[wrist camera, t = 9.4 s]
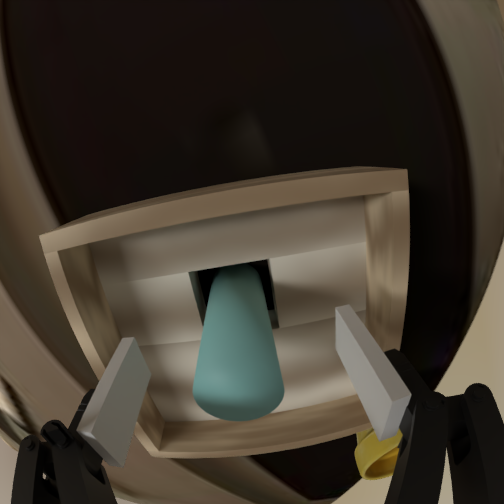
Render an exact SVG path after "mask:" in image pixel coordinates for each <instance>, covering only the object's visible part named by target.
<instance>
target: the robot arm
mask: <svg viewBox="0 0 504 504" xmlns="http://www.w3.org/2000/svg"><path fill="white" fill-rule="evenodd" d="M335 314H336V342H335V349H336V351H337V353H338V355H339V357H340V359H341V361H342V363H343V365H344V367H345V369H346V371H347V373H348V375H349V378H350V380H351V382H352V384H353V386H354V388H355V390H356V392H357V394H358V396H359V399H360V401H361V403H362V405H363V407H364V409H365V411H366V414H367V416H368V418H369V420H370V422H371V425H372V427H373V429H374V431H375V433H376V436H377V438H378V440H379V442H380V441H383V440H385V439H388V438H391V437H393V436H396V434H397V432H398V429H400V431H401V433H402V435H403V436H402V438H401V440H400V442H399V444H398V447H397V448H399V452H398V456H397V460H396V465H395V469H394V472H393V476H392V480H391V483H390V487H389V490H388V494H387V497H386V500H385V503H384V504H438V501H439V496H440V490H441V484H442V479H443V472H444V465H445V456H446V447H447V453H448V459H449V465H450V473H451V480H452V491H453V503H454V504H504V423H503V420H502V418H501V415H500V412H499V409H498V407H497V404H496V402H495V399H494V397H493V394H492V392H491V390H490V389H489V387H487V386H486V385H484V384H481V383H474V384H472V385H470V386H469V387H468V388H467V389H466V391H465V393H464V394H460V395H455V396H449V397H445V396H444V395H443V394H441V393H439V392H434V391H431V390H430V389H429V387H428V386H427V384H426V383H425V382H424V380H423V379H422V378H421V376H420V375H419V373H418V372H417V371H416V369H414V367H413V365H412V364H411V363H410V362H409V360H408V359H407V357H406V356H405V355H404V354H403V353H402V352H400V351H398V350H397V349H395V348H394V349H391V350H388V351H385V352H383V351H382V350H381V348H380V347H379V345H378V344H377V342H376V341H375V340H374V338H373V337H372V335H371V334H370V332H369V331H368V330H367V328H366V327H365V325H364V324H363V323H362V321H361V320H360V318H359V317H358V316H357V314H356V313H355V312H354V310H353V309H352V307H351V306H350V305H349V304H348V305H344V306H339V307H335ZM150 377H151V372H150V370H149V368H148V366H147V364H146V362H145V360H144V358H143V355H142V353H141V351H140V349H139V346H138V344H137V342H136V340H135V337H129V338H122V340H121V342H120V343H119V345H118V347H117V349H116V351H115V353H114V355H113V356H112V358H111V360H110V362H109V364H108V366H107V368H106V370H105V372H104V374H103V376H102V377H101V379H100V381H99V383H98V385H97V387H96V389H91V390H90V391H89V392H88V393H87V394H86V395H85V396H84V398H83V399H82V401H81V405H79V407H78V411H76V414H75V416H74V418H73V420H72V422H71V424H70V426H69V428H68V429H67V428H66V427H65V426H64V424H63V423H62V422H61V421H59V420H51V421H49V422H47V423H46V424H45V425H44V426H43V427H42V429H41V433H40V434H41V435H42V436H43V437H44V439H45V440H46V441H47V442H41V441H40V440H39V439H38V438H37V437H36V436H34V435H29V436H27V437H25V438H24V439H23V440H22V442H21V444H20V448H19V452H18V457H17V463H16V468H15V475H14V481H13V489H12V498H11V504H117V501H116V499H115V496H114V493H113V491H112V488H111V485H110V482H109V480H108V477H107V474H106V471H105V469H104V467H103V466H102V465H101V463H102V460H103V459H104V460H105V461H106V462H107V463H108V464H109V465H111V466H117V467H123V468H124V464H125V460H126V457H127V453H128V449H129V446H130V442H131V439H132V435H133V432H134V428H135V425H136V422H137V418H138V415H139V412H140V408H141V405H142V402H143V399H144V396H145V392H146V389H147V386H148V383H149V380H150ZM43 473H44V474H45V475H46V479H43V478H42V477H43Z"/></svg>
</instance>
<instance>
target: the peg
mask: <svg viewBox="0 0 504 504" xmlns="http://www.w3.org/2000/svg"><path fill="white" fill-rule="evenodd" d="M284 392H285V390H284V384H283V379H282V374H281V370H280V365H279V360H278V356H277V351H276V346H275V342H274V337H273V332H272V328H271V323H270V318H269V314H268V309H267V304H266V300H265V295H264V291H263V286H262V281H261V277H260V275H259V273H258V272H257V270H256V269H255V268H253V267H252V266H251V265H249V264H247V263H240V264H234V265H228V266H222V267H220V268H219V269H218V270H217V271H216V273H215V274H214V277H213V280H212V285H211V290H210V295H209V300H208V305H207V310H206V315H205V321H204V326H203V331H202V337H201V342H200V348H199V354H198V359H197V365H196V371H195V377H194V383H193V397H194V399H195V401H196V403H197V404H198V406H199V407H200V408H201V409H202V410H204V411H205V412H206V413H208V414H210V415H212V416H214V417H216V418H219V419H223V420H228V421H249V420H254V419H258V418H261V417H263V416H265V415H267V414H269V413H271V412H272V411H274V410H275V409H276V408H277V407H278V406H279V404H280V403H281V401H282V400H283V397H284Z"/></svg>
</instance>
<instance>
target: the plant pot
mask: <svg viewBox="0 0 504 504" xmlns="http://www.w3.org/2000/svg"><path fill="white" fill-rule="evenodd" d="M402 436H403V435H402V433H401V431H400V429H398V432H397V434H396V436H393V437H391V438H388V439H385V440H383V441H380V442H379V440H378V438H377V436H376V433H375V431H374V429H373V428H370V429H367V430H364V431H361V432H358V433H357V442H358V446H357V447H356V449H355V459H356V462H357V466H358V469H359V472H360V474H361V476H362V477H363V478H364V479H366V480H377V479H382V478H386V477H389V476H392V475H393V472H394V469H395V465H396V460H397V456H398V452H399V448H397V447H398V444H399V442H400V440H401V438H402Z"/></svg>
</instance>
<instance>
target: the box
mask: <svg viewBox="0 0 504 504" xmlns="http://www.w3.org/2000/svg"><path fill="white" fill-rule="evenodd" d="M39 237H40V240H41V244H42V248H43V251H44V255H45V258H46V261H47V264H48V267H49V270H50V273H51V276H52V279H53V282H54V285H55V288H56V290H57V293H58V296H59V298H60V301H61V303H62V306H63V308H64V311H65V313H66V315H67V318H68V320H69V322H70V325H71V327H72V329H73V331H74V333H75V336H76V338H77V340H78V342H79V344H80V346H81V348H82V350H83V352H84V354H85V356H86V358H87V360H88V361H89V363H90V365H91V367H92V369H93V371H94V372H95V374H96V376H97V378H98V379H99V381H100V379H101V377H102V376H103V374H104V372H105V370H106V368H107V366H108V364H109V362H110V360H111V358H112V356H113V355H114V353H115V351H116V349H117V347H118V345H119V343H120V342H121V340H122V338H129V337H135V340H136V342H137V344H138V346H139V349H140V351H141V353H142V355H143V358H144V360H145V362H146V364H147V366H148V368H149V370H150V372H151V377H150V380H149V383H148V386H147V389H146V392H145V396H144V399H143V402H142V405H141V408H140V412H139V415H138V418H137V422H136V425H135V428H134V432H133V433H134V434H135V435H136V437H137V438H138V439H139V441H140V442H141V443H142V445H143V446H144V447H145V448H146V450H147V451H148V452H149V453H150V454H151V456H152V457H164V458H216V457H233V456H244V455H254V454H262V453H269V452H276V451H282V450H288V449H294V448H299V447H304V446H308V445H313V444H317V443H322V442H326V441H330V440H334V439H337V438H341V437H345V436H348V435H352V434H355V433H358V432H361V431H364V430H367V429H370V428H373V427H372V425H371V422H370V420H369V418H368V416H367V414H366V411H365V409H364V407H363V405H362V403H361V401H360V399H359V396H358V394H357V392H356V390H355V388H354V386H353V384H352V382H351V380H350V378H349V375H348V373H347V371H346V369H345V367H344V365H343V363H342V361H341V359H340V357H339V355H338V353H337V351H336V349H335V342H336V314H335V307H339V306H344V305H348V304H349V305H350V306H351V307H352V309H353V310H354V312H355V313H356V314H357V316H358V317H359V318H360V320H361V321H362V323H363V324H364V325H365V327H366V328H367V330H368V331H369V332H370V334H371V335H372V337H373V338H374V340H375V341H376V342H377V344H378V345H379V347H380V348H381V350H382V351H383V352H385V351H388V350H391V349H394V348H395V349H397V350H398V351H400V345H401V338H402V332H403V325H404V317H405V309H406V299H407V288H408V274H409V252H410V210H409V188H408V174H407V169H396V168H381V167H360V166H357V167H346V168H335V169H325V170H316V171H307V172H299V173H291V174H284V175H277V176H270V177H263V178H256V179H250V180H244V181H238V182H232V183H226V184H220V185H215V186H210V187H204V188H199V189H194V190H189V191H184V192H179V193H175V194H170V195H165V196H161V197H156V198H152V199H148V200H144V201H139V202H135V203H131V204H127V205H123V206H119V207H115V208H112V209H108V210H104V211H100V212H97V213H93V214H90V215H87V216H84V217H82V218H79V219H77V220H74V221H72V222H70V223H67V224H65V225H62V226H60V227H58V228H55V229H53V230H51V231H49V232H46V233H44V234H42V235H40V236H39ZM264 259H267V260H268V267H269V274H270V281H271V287H272V294H273V301H274V309H273V310H268V314H269V318H270V323H271V328H272V332H273V337H274V342H275V346H276V351H277V356H278V360H279V365H280V370H281V374H282V379H283V384H284V390H285V392H284V397H283V400H282V401H281V403H280V404H279V406H278V407H277V408H276V409H275V410H274V411H272V412H271V413H269V414H267V415H265V416H263V417H261V418H258V419H254V420H249V421H228V420H223V419H219V418H216V417H214V416H212V415H210V414H208V413H206V412H205V411H204V410H202V409H201V408H200V407H199V406H198V404H197V403H196V401H195V399H194V397H193V383H194V377H195V371H196V365H197V359H198V354H199V348H200V342H201V337H202V331H203V326H204V321H205V315H206V310H207V308H206V304H205V300H204V296H203V293H202V289H201V284H200V280H199V276H198V272H197V271H198V270H204V269H210V268H216V267H222V266H228V265H234V264H240V263H246V262H252V261H258V260H264Z"/></svg>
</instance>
